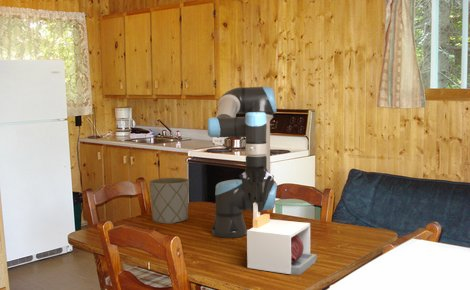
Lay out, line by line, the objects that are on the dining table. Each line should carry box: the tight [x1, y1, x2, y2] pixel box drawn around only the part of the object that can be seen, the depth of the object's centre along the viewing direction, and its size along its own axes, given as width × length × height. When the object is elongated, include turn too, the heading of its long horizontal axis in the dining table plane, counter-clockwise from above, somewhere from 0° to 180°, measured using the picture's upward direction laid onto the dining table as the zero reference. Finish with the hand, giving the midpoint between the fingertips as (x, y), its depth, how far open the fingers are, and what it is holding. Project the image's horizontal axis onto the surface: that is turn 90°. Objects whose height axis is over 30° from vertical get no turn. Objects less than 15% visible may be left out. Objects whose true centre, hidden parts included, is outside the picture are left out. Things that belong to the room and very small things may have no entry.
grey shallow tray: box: [290, 253, 318, 276], centre depth 190 cm, size 15×17×2 cm
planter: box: [148, 177, 190, 225], centre depth 262 cm, size 19×19×20 cm
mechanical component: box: [291, 235, 304, 263], centre depth 189 cm, size 12×10×10 cm
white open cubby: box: [246, 213, 311, 275], centre depth 191 cm, size 16×19×16 cm
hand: (256, 220), depth 194 cm, fingers closed
